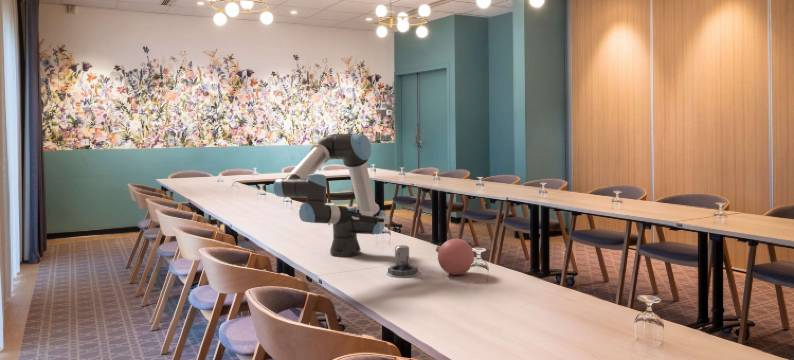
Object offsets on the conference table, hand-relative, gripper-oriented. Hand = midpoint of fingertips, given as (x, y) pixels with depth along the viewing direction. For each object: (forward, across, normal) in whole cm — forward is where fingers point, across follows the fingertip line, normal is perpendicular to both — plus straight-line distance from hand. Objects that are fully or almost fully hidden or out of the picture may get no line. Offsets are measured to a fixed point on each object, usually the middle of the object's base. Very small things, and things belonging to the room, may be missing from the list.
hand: (380, 218), depth 264 cm
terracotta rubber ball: (+29, +18, -20) cm, 39 cm away
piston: (+11, +6, -22) cm, 26 cm away
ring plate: (+11, +6, -23) cm, 26 cm away
